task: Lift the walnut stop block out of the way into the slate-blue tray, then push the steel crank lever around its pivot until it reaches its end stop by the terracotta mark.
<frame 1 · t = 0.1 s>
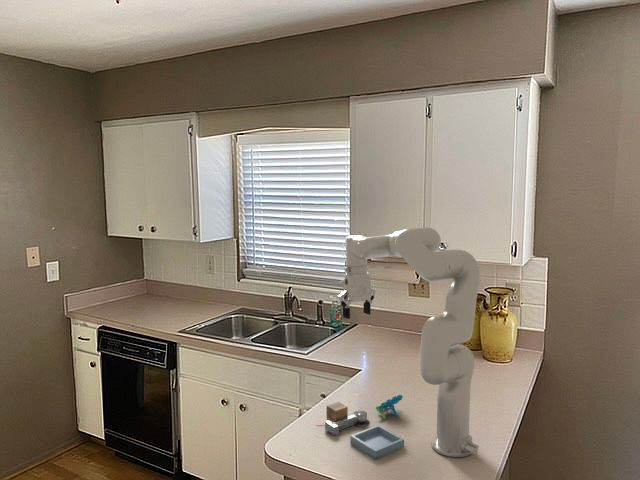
hand: (356, 315, 191), 31 cm above the worktop, tool pointing down, fingers open, 9 cm apart
gear: (388, 414, 182), on the worktop
tray: (377, 445, 160), on the worktop
pivot base: (360, 422, 175), on the worktop
stop block: (337, 423, 175), on the worktop
crank lever: (347, 421, 172), point 2 cm above the worktop, hinge at 0.0°
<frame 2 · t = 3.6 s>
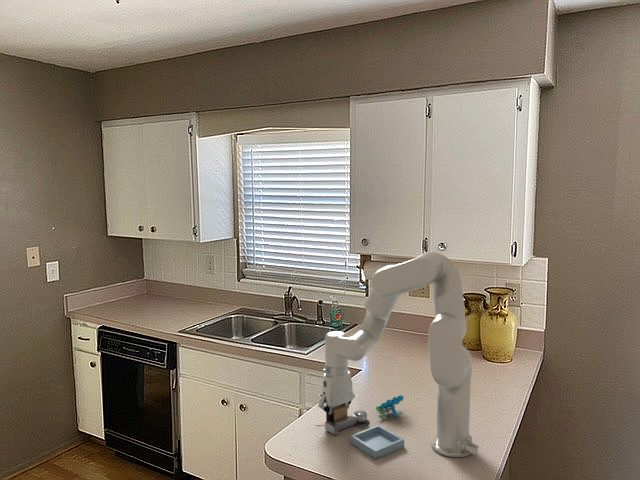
hand: (336, 421, 175), 1 cm above the worktop, tool pointing down, fingers closed on stop block, 5 cm apart
stop block: (337, 423, 175), on the worktop, touching gripper
everything else where it was.
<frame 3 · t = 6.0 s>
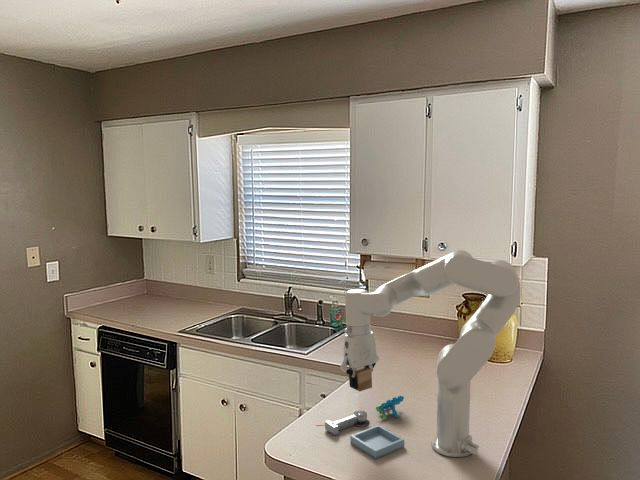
hand: (360, 385, 165), 17 cm above the worktop, tool pointing down, fingers closed on stop block, 5 cm apart
stop block: (360, 387, 165), point 16 cm above the worktop, touching gripper
everything else where it was.
when the fingers open (3 cm above the worktop, at t = 8.7 s): stop block drops 1 cm, resting on tray.
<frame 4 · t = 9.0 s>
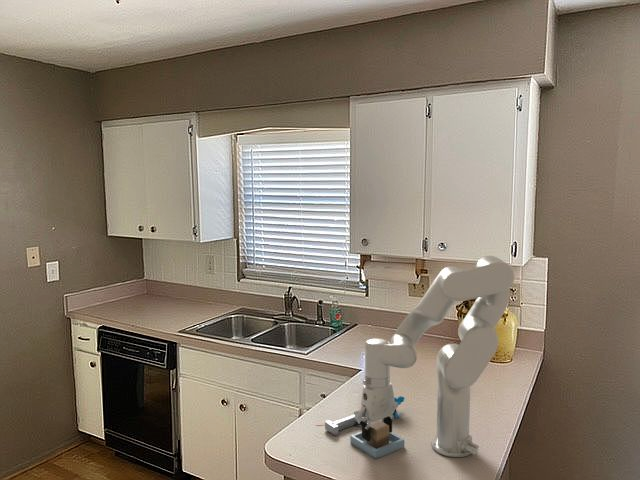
hand: (377, 434, 160), 3 cm above the worktop, tool pointing down, fingers open, 8 cm apart
stop block: (377, 443, 160), point 1 cm above the worktop, touching tray
everything else where it was.
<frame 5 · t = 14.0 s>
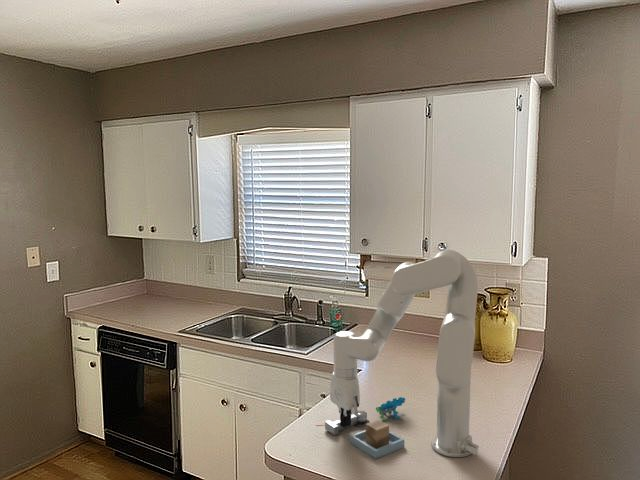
hand: (345, 425, 169), 2 cm above the worktop, tool pointing down, fingers closed
crank lever: (347, 421, 172), point 2 cm above the worktop, hinge at 0.0°, touching gripper
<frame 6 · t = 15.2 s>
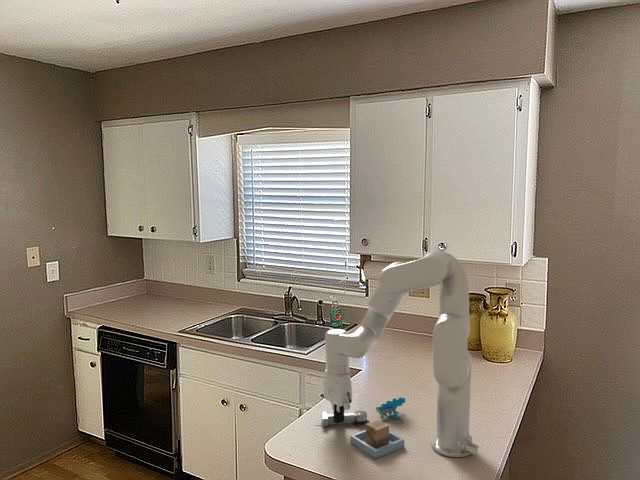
hand: (339, 421, 172), 2 cm above the worktop, tool pointing down, fingers closed
crank lever: (344, 418, 175), point 2 cm above the worktop, hinge at -30.6°, touching gripper
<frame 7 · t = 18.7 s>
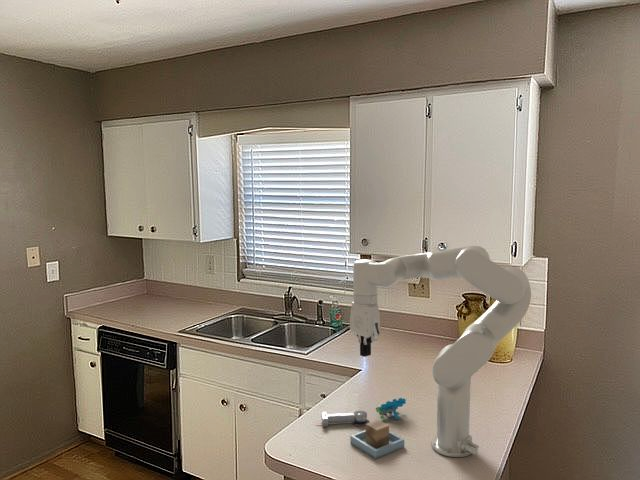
hand: (365, 355, 167), 25 cm above the worktop, tool pointing down, fingers closed
crank lever: (344, 418, 175), point 2 cm above the worktop, hinge at -30.7°
at the end: stop block inside the target area on the tray (0.1 cm from its centre), point 0.6 cm above the tray's base; stop block tilted 0°; crank lever at -31° (first picture: +0°) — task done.
